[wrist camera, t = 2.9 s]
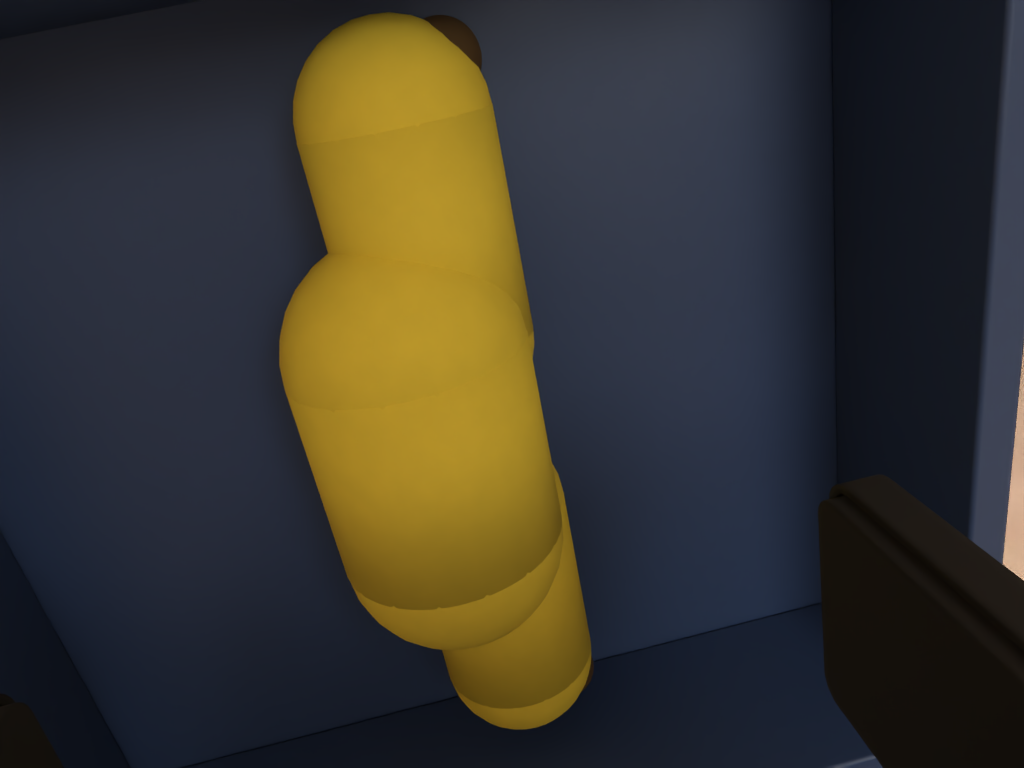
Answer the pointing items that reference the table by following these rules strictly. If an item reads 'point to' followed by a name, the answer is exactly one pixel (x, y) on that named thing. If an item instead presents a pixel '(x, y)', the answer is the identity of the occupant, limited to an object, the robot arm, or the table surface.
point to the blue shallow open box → (556, 357)
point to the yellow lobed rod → (430, 369)
